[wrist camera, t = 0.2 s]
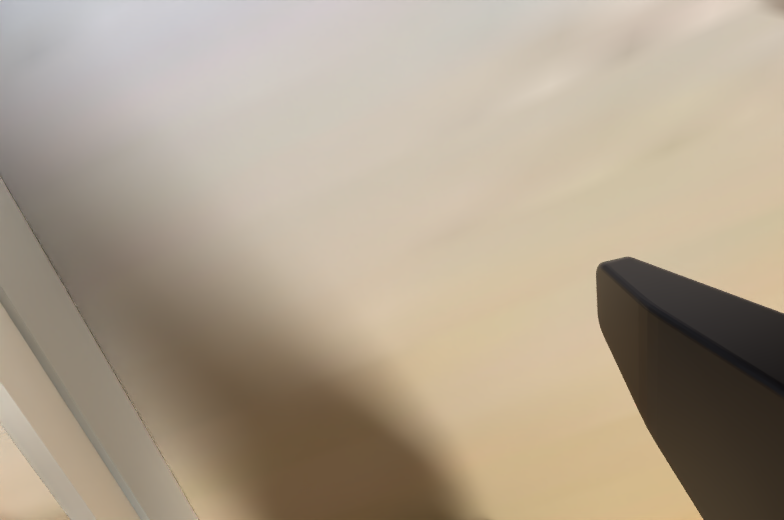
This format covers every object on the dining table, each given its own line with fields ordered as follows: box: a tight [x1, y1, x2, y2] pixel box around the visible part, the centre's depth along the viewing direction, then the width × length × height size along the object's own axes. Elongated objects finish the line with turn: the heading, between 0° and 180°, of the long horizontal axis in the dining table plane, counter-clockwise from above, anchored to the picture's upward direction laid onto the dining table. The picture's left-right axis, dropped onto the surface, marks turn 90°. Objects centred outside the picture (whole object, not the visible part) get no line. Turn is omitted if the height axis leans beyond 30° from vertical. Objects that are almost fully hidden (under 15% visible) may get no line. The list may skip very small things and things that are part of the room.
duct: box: [0, 176, 199, 520], centre depth 25 cm, size 21×7×3 cm, turn 13°
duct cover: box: [0, 303, 141, 520], centre depth 21 cm, size 19×6×1 cm
